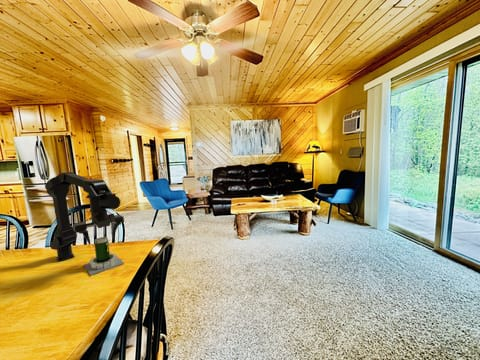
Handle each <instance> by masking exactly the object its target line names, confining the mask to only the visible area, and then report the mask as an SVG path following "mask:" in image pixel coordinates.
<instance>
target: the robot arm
mask: <svg viewBox="0 0 480 360" xmlns="http://www.w3.org/2000/svg"><path fill="white" fill-rule="evenodd" d="M71 185H74V186H77V187H79V188H81V189H82V190H83V192H85V193H87V195H86V197H85V199H89V207H90V216H91V222H88V223H86V222H85V221H82V222H76V223H73V225H71V221H70V214H69V208H68V207H69V205H68V201H67V196H68V194H69V192H70V186H71ZM44 188H45V189H46V190H45V191H46V193H47V195H48V196H49V197H51V199H52V201H53V209H54V215H55V220H56V227H57V228H56V229H55V230H54V233H53V240H52V241H51V243H50V244H49V247H50V249H51V250H54V251H56V255H57V256H56V257H55V258H56V261H57V262H58V263H59V262H62V261H65V260H69V259H73V258H75V254H74V253H73V248H72V247H73V246H72V245H74V244H76V243H77V238H78V233H79V234H80V235H81V234H82V235H83V236H84V238H85V240H86V241H87V244H88V245H91V239H90V236H89V231H88V230H87V229H89V228H93V227H97V228H98V229H102V228H104V227H111V228H110V229H111V230H110V232H111V238H112V239H114V238H115V236H116V232H117V229H118V227H119V226H121V225H122V223H124V222H125V218H124V216H122V215H120V214H114V213H109V214H108V212H107V210H117V209H118V208H119V207H120V205H121V199H120V197H119V196H117V195H116V193H113V191H112V190H111V188H110V187H109V185H108V184H107V182H106V181H105V180H104V179H97V178H93V179H92V178H88V177H85V176H81V175H79V174H76V173H74V172H71V171H67V172H61V173H58V174H57V175H55V176H54V177H52V178H50V179H48V180H47V182H45V184H44Z"/></svg>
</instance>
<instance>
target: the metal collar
mask: <svg viewBox="0 0 480 360" xmlns="http://www.w3.org/2000/svg"><path fill="white" fill-rule="evenodd" d="M117 257H118V255H117V254H116V253H115V252H114V253H113V252H112V253H111V252H110V260H108V261H105V262H101V263H96V256H94V257H93V258H91V259H90V260H89V261H88V263H89V264H90V268H91V269H94V270H98V269H103V268H107V267H110V266H112V265H113V264H115V263H116V262H117Z"/></svg>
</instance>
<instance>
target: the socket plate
mask: <svg viewBox="0 0 480 360" xmlns="http://www.w3.org/2000/svg"><path fill="white" fill-rule="evenodd" d="M124 265H125V262H123V261H122V259H120V258H119V257H118V256H117V262H116V263H115V264H113V265H112V266H110V267H107V268H103V269H98V270H94V269H91V268H90V264H89V262H87V263H84V264H83V266H84V268H85V269H86V272H88V274H89V276H90V277H92V276H95V275H97V274H100V273H102V272H105V271H109V270H111V269H114V268H117V267H120V266H124Z"/></svg>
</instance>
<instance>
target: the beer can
mask: <svg viewBox="0 0 480 360" xmlns="http://www.w3.org/2000/svg"><path fill="white" fill-rule="evenodd" d="M109 243H110V242H109V239H108V236H100V237H97V238H96V239H94V252H95V253H94V254H95V257H96V263H101V262H105V261H108V260H110V253H111V252H110V244H109Z"/></svg>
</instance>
